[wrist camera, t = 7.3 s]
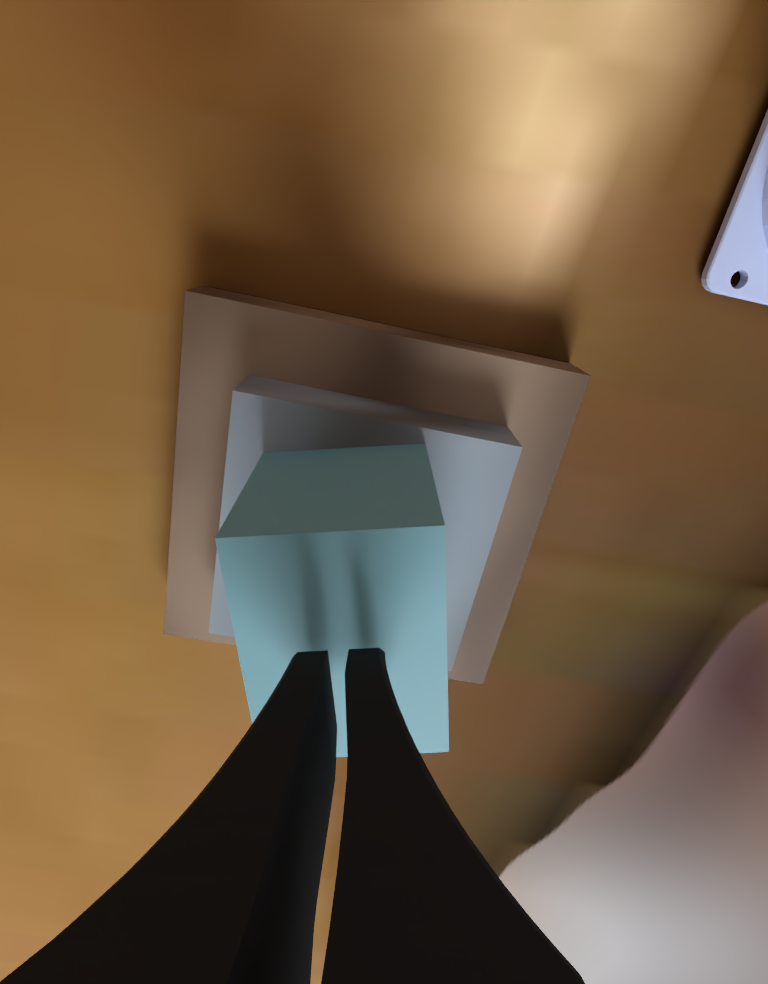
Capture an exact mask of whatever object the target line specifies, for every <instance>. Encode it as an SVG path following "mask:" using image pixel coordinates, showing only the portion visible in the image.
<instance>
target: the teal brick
mask: <svg viewBox="0 0 768 984" xmlns="http://www.w3.org/2000/svg"><path fill="white" fill-rule="evenodd" d="M215 541H216V546H217V551H218V556H219V561H220V566H221V571H222V576H223V581H224V586H225V591H226V596H227V601H228V606H229V611H230V616H231V621H232V626H233V631H234V636H235V641H236V646H237V651H238V656H239V661H240V666H241V671H242V676H243V681H244V686H245V691H246V696H247V701H248V706H249V711H250V716H251V721H252V724H253V722H254V721H255V719H256V718H257V716H258V714H259V713H260V711H261V710H262V708H263V707H264V705H265V704H266V702H267V701H268V699H269V697H270V696H271V694H272V693H273V691H274V689H275V688H276V686H277V684H278V683H279V681H280V679H281V677H282V676H283V674H284V672H285V670H286V669H287V667H288V665H289V663H290V661H291V659H292V657H293V656H294V655H295V654H296V653H297V652H306V651H325V650H328V656H329V664H330V672H331V680H332V688H333V697H334V705H335V713H336V721H337V747H336V757H348V754H347V726H346V698H345V668H346V661H347V656H348V651H349V649H362V648H380V649H382V650H383V651H384V652H385V659H386V667H387V671H388V675H389V679H390V683H391V686H392V689H393V692H394V695H395V698H396V700H397V703H398V706H399V708H400V711H401V713H402V716H403V718H404V720H405V723H406V725H407V727H408V730H409V732H410V734H411V736H412V738H413V741H414V743H415V745H416V747H417V749H418V751H419V753H433V752H449V729H448V671H447V612H446V554H445V523H444V519H443V515H442V511H441V507H440V502H439V498H438V494H437V490H436V486H435V481H434V477H433V473H432V469H431V465H430V460H429V456H428V452H427V448H426V444H425V443H424V444H407V445H390V446H373V447H355V448H338V449H321V450H304V451H287V452H270V453H263V454H262V456H261V457H260V459H259V461H258V463H257V464H256V466H255V468H254V470H253V472H252V473H251V475H250V477H249V479H248V480H247V482H246V484H245V486H244V487H243V489H242V491H241V493H240V495H239V496H238V498H237V500H236V502H235V503H234V505H233V507H232V509H231V511H230V512H229V514H228V516H227V518H226V519H225V521H224V523H223V525H222V527H221V528H220V530H219V532H218V534H217V535H216V537H215Z"/></svg>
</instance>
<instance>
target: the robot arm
mask: <svg viewBox="0 0 768 984" xmlns="http://www.w3.org/2000/svg"><path fill="white" fill-rule="evenodd" d="M737 271H738V272H739V273H740V275H741V277H740V281H739V283H738V284H737V285H736V286H734V287H732V286H731V283H730V281H731V277H732V276H733V274H734V273H735V272H737ZM701 281H702V285H703V287H704V288H705V290H707V291H709V292H712V293H716V294H720V295H725V296H729V297H733V298H738V299H742V300H747V301H751V302H755V303H760V304H764V305H768V110H767V112H766V115H765V117H764V120H763V122H762V125H761V127H760V130H759V132H758V135H757V137H756V140H755V142H754V145H753V147H752V150H751V152H750V155H749V157H748V160H747V162H746V165H745V167H744V170H743V172H742V175H741V177H740V180H739V182H738V185H737V187H736V190H735V192H734V195H733V197H732V200H731V202H730V205H729V207H728V210H727V212H726V215H725V217H724V220H723V222H722V225H721V227H720V230H719V232H718V235H717V237H716V240H715V242H714V245H713V247H712V250H711V252H710V255H709V257H708V260H707V262H706V265H705V267H704V270H703V273H702V277H701ZM345 698H346V726H347V754H348V759H347V783H346V793H345V803H344V813H343V823H342V832H341V841H340V850H339V859H338V868H337V876H336V883H335V891H334V899H333V906H332V914H331V921H330V929H329V936H328V943H327V949H326V956H325V962H324V969H323V976H322V982H321V984H585V983H584V981H583V979H582V977H581V976H580V974H579V973H578V972H577V971H576V970H575V968H574V967H573V966H572V965H571V964H570V963H569V962H568V961H567V960H566V958H565V957H564V956H563V955H562V954H561V953H560V952H559V950H558V949H557V948H556V947H555V946H554V945H553V944H552V943H551V941H550V940H549V939H548V938H547V937H546V936H545V934H544V933H543V932H542V931H541V930H540V929H539V927H538V926H537V925H536V924H535V923H534V922H533V920H532V919H531V918H530V917H529V915H528V914H527V913H526V912H525V911H524V909H523V908H522V907H521V906H520V904H519V903H518V902H517V901H516V899H515V898H514V897H513V896H512V894H511V893H510V892H509V891H508V889H507V888H506V887H505V886H504V884H503V883H502V881H501V880H500V879H499V877H498V876H497V875H496V873H495V872H494V871H493V869H492V868H491V866H490V865H489V864H488V862H487V861H486V860H485V858H484V857H483V855H482V854H481V853H480V851H479V850H478V849H477V847H476V846H475V844H474V843H473V842H472V840H471V839H470V837H469V836H468V835H467V833H466V831H465V830H464V828H463V827H462V825H461V824H460V822H459V821H458V819H457V818H456V816H455V815H454V813H453V811H452V810H451V808H450V807H449V805H448V803H447V802H446V800H445V798H444V797H443V795H442V793H441V792H440V790H439V788H438V787H437V785H436V783H435V781H434V779H433V778H432V776H431V774H430V772H429V770H428V768H427V767H426V765H425V763H424V761H423V759H422V757H421V755H420V753H419V751H418V749H417V747H416V745H415V743H414V741H413V738H412V736H411V734H410V732H409V730H408V727H407V725H406V723H405V720H404V718H403V716H402V713H401V711H400V708H399V706H398V703H397V700H396V698H395V695H394V692H393V689H392V686H391V683H390V679H389V675H388V671H387V667H386V659H385V652H384V651H383V650H382V649H380V648H362V649H349V651H348V656H347V661H346V668H345ZM336 747H337V721H336V713H335V705H334V697H333V688H332V680H331V672H330V664H329V656H328V650H325V651H306V652H297V653H296V654H295V655H294V656H293V657H292V659H291V661H290V663H289V665H288V667H287V669H286V670H285V672H284V674H283V676H282V677H281V679H280V681H279V683H278V684H277V686H276V688H275V689H274V691H273V693H272V694H271V696H270V697H269V699H268V701H267V702H266V704H265V705H264V707H263V708H262V710H261V711H260V713H259V714H258V716H257V718H256V719H255V721H254V722H253V724H252V725H251V727H250V728H249V730H248V731H247V733H246V734H245V735H244V737H243V738H242V740H241V741H240V742H239V744H238V745H237V746H236V748H235V749H234V750H233V752H232V753H231V755H230V756H229V757H228V759H227V760H226V761H225V763H224V764H223V765H222V767H221V768H220V769H219V771H218V772H217V773H216V775H215V776H214V777H213V778H212V780H211V781H210V782H209V783H208V785H207V786H206V787H205V788H204V790H203V791H202V792H201V793H200V794H199V795H198V797H197V798H196V799H195V800H194V801H193V803H192V804H191V805H190V806H189V807H188V808H187V809H186V811H185V812H184V813H183V814H182V815H181V816H180V817H179V819H178V820H177V821H176V822H175V823H174V824H173V825H172V826H171V827H170V828H169V829H168V830H167V832H166V833H165V834H164V835H163V836H162V837H161V838H160V839H159V840H158V841H157V842H156V843H155V844H154V845H153V846H152V847H151V848H150V850H149V851H148V852H147V853H146V854H145V855H144V856H143V857H142V858H141V859H140V860H139V861H138V862H137V863H136V864H135V865H134V866H133V867H132V868H131V869H130V870H129V871H128V872H127V873H126V874H125V875H124V876H123V877H121V878H120V879H119V880H118V881H117V882H116V883H115V884H114V885H113V886H112V887H111V888H110V889H108V890H107V891H106V892H105V893H104V894H103V895H102V896H101V897H100V898H99V899H98V900H96V901H95V902H94V903H93V904H92V905H91V906H90V907H89V908H88V909H87V910H86V911H84V912H83V913H82V914H81V915H80V916H79V917H78V918H77V919H76V920H75V921H74V922H72V923H71V924H70V925H69V926H68V927H67V928H66V929H64V930H63V931H62V932H61V933H60V934H59V935H57V936H56V937H55V938H54V939H53V940H52V941H50V942H49V943H48V944H47V945H45V946H44V947H43V948H42V949H40V950H39V951H38V952H37V953H35V954H34V955H33V956H32V957H30V958H29V959H28V960H27V961H25V962H24V963H23V964H22V965H20V966H19V967H18V968H17V969H16V970H14V971H13V972H12V973H11V974H9V975H8V976H7V977H6V978H4V979H3V980H2V981H1V982H0V984H310V978H311V963H312V948H313V933H314V922H315V913H316V904H317V896H318V890H319V883H320V876H321V870H322V863H323V857H324V850H325V843H326V837H327V830H328V823H329V817H330V810H331V803H332V796H333V789H334V782H335V770H336Z"/></svg>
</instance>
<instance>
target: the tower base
mask: <svg viewBox="0 0 768 984" xmlns="http://www.w3.org/2000/svg"><path fill="white" fill-rule="evenodd" d="M590 377H591V376H590V375H589V374H587V373H585V372H584V371H582V370H580V369H579V368H577V367H575V366H574V365H572V364H570V363H566V362H562V361H557V360H552V359H548V358H543V357H538V356H533V355H529V354H524V353H519V352H514V351H510V350H505V349H500V348H496V347H491V346H486V345H481V344H477V343H472V342H467V341H462V340H458V339H453V338H448V337H444V336H439V335H434V334H429V333H425V332H420V331H415V330H410V329H406V328H401V327H396V326H392V325H387V324H382V323H377V322H373V321H368V320H363V319H358V318H354V317H349V316H344V315H340V314H335V313H330V312H325V311H321V310H316V309H311V308H306V307H302V306H297V305H292V304H287V303H283V302H278V301H273V300H269V299H264V298H259V297H254V296H250V295H245V294H240V293H235V292H231V291H226V290H221V289H217V288H212V287H207V286H203V287H199V288H194V289H190V290H185V299H184V316H183V332H182V348H181V364H180V380H179V396H178V413H177V429H176V445H175V461H174V477H173V494H172V510H171V526H170V542H169V558H168V574H167V591H166V607H165V623H164V634H166V635H173V636H179V637H186V638H192V639H198V640H205V641H211V642H217V643H224V644H230V645H236V641H235V636H234V631H233V626H232V621H231V616H230V611H229V606H228V601H227V596H226V591H225V586H224V581H223V576H222V571H221V566H220V561H219V556H218V551H217V546H216V541H215V537H216V535H217V534H218V532H219V530H220V528H221V527H222V525H223V523H224V521H225V519H226V518H227V516H228V514H229V512H230V511H231V509H232V507H233V505H234V503H235V502H236V500H237V498H238V496H239V495H240V493H241V491H242V489H243V487H244V486H245V484H246V482H247V480H248V479H249V477H250V475H251V473H252V472H253V470H254V468H255V466H256V464H257V463H258V461H259V459H260V457H261V456H262V454H263V453H270V452H287V451H304V450H321V449H338V448H355V447H373V446H390V445H407V444H424V443H425V444H426V448H427V452H428V456H429V460H430V465H431V469H432V473H433V477H434V481H435V486H436V490H437V494H438V498H439V502H440V507H441V511H442V515H443V519H444V523H445V554H446V612H447V671H448V679H453V680H460V681H466V682H473V683H479V684H483V682H484V680H485V677H486V674H487V671H488V668H489V665H490V662H491V660H492V657H493V654H494V651H495V648H496V645H497V642H498V640H499V637H500V634H501V631H502V628H503V625H504V622H505V620H506V617H507V614H508V611H509V608H510V605H511V602H512V600H513V597H514V594H515V591H516V588H517V585H518V583H519V580H520V577H521V574H522V571H523V568H524V565H525V563H526V560H527V557H528V554H529V551H530V548H531V545H532V543H533V540H534V537H535V534H536V531H537V528H538V525H539V523H540V520H541V517H542V514H543V511H544V508H545V505H546V503H547V500H548V497H549V494H550V491H551V488H552V486H553V483H554V480H555V477H556V474H557V471H558V468H559V466H560V463H561V460H562V457H563V454H564V451H565V448H566V446H567V443H568V440H569V437H570V434H571V431H572V428H573V426H574V423H575V420H576V417H577V414H578V411H579V408H580V406H581V403H582V400H583V397H584V394H585V391H586V389H587V386H588V383H589V380H590Z"/></svg>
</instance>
